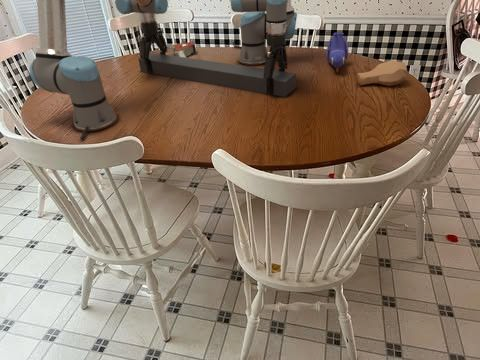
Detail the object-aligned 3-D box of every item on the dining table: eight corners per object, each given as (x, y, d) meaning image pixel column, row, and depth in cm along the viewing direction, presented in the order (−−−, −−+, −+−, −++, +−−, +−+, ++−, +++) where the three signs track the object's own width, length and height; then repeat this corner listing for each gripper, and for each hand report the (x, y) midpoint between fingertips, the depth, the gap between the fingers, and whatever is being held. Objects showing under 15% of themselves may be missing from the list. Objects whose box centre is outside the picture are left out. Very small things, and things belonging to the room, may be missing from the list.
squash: (410, 86, 145) (414, 66, 139) (360, 95, 147) (362, 76, 141) (400, 73, 153) (404, 53, 146) (353, 81, 155) (354, 62, 148)
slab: (140, 71, 178) (138, 58, 174) (154, 65, 185) (152, 52, 181) (285, 97, 143) (285, 81, 139) (295, 88, 150) (296, 73, 146)
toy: (325, 68, 179) (325, 75, 157) (327, 32, 172) (327, 34, 150) (346, 67, 177) (349, 74, 155) (348, 31, 170) (351, 33, 148)
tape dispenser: (183, 66, 184) (206, 53, 197) (182, 56, 181) (205, 43, 193) (158, 60, 192) (181, 48, 204) (156, 51, 188) (180, 38, 201)
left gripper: (137, 27, 155) (147, 77, 169) (170, 16, 171) (177, 62, 184) (124, 26, 159) (136, 75, 172) (158, 15, 174) (166, 61, 187)
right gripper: (271, 42, 127) (271, 100, 140) (297, 27, 142) (295, 80, 155) (253, 40, 130) (255, 97, 143) (280, 25, 145) (279, 78, 159)
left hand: (157, 68), depth 178 cm, fingers closed on slab, 10 cm apart
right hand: (275, 88), depth 149 cm, fingers closed on slab, 10 cm apart
